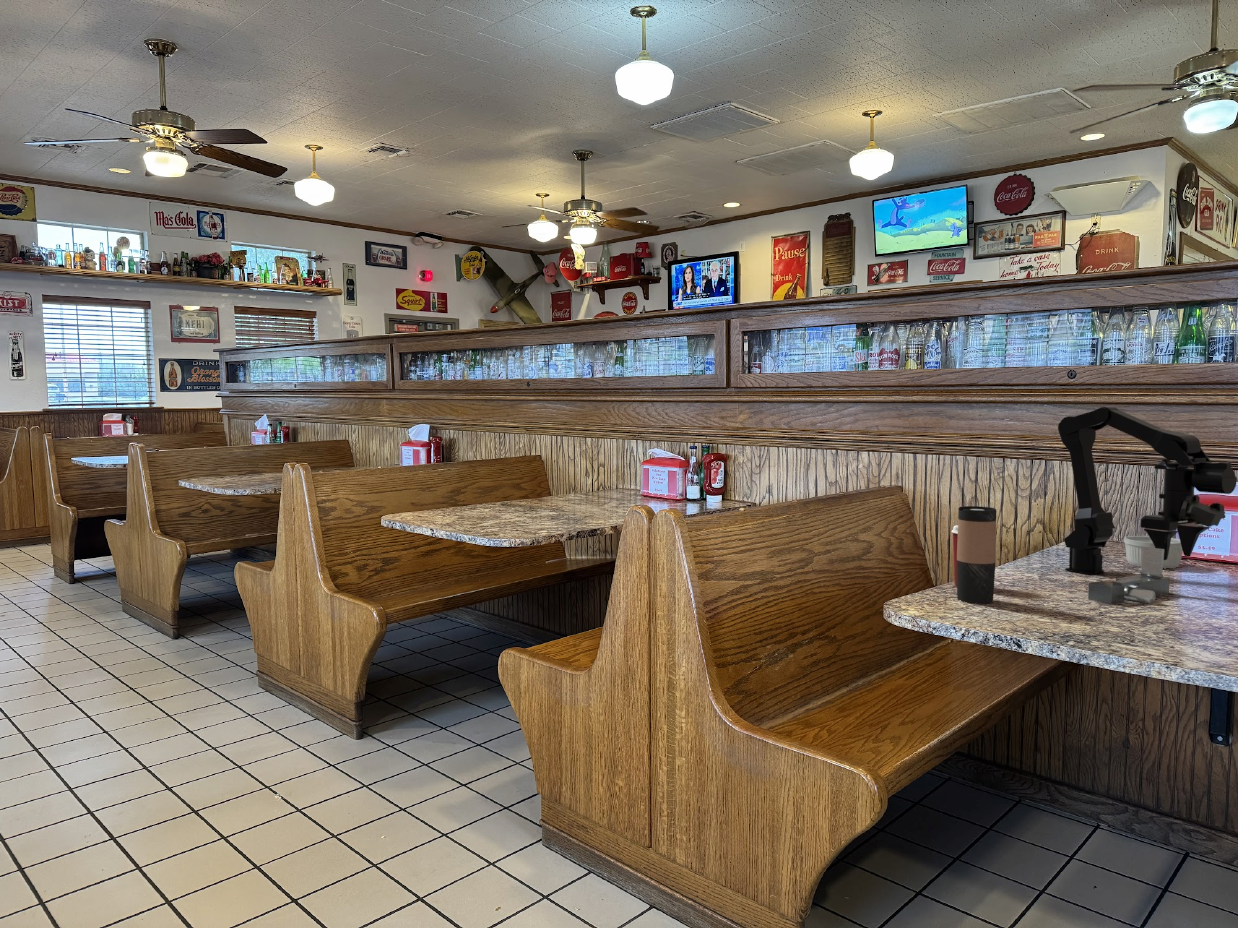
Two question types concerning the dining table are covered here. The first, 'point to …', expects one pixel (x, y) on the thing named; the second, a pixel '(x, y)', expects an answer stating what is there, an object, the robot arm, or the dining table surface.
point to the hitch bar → (1116, 590)
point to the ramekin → (1139, 542)
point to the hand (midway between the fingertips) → (1175, 557)
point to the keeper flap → (1152, 562)
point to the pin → (1138, 594)
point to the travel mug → (976, 554)
